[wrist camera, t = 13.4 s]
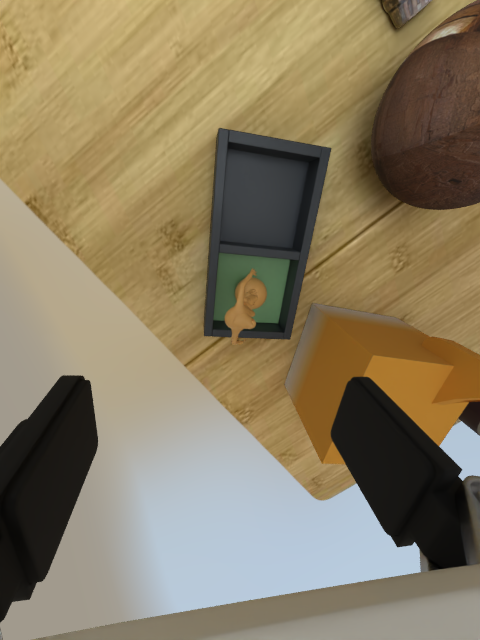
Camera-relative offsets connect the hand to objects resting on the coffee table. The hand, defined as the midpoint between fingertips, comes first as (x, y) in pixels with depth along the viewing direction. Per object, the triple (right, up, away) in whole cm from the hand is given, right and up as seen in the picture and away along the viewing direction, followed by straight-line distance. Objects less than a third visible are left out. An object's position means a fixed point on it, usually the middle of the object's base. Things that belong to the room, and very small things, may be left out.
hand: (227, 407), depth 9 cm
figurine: (+1, +8, +24) cm, 26 cm away
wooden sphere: (+20, +25, +21) cm, 38 cm away
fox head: (+19, -2, +33) cm, 38 cm away
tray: (+2, +12, +23) cm, 26 cm away
